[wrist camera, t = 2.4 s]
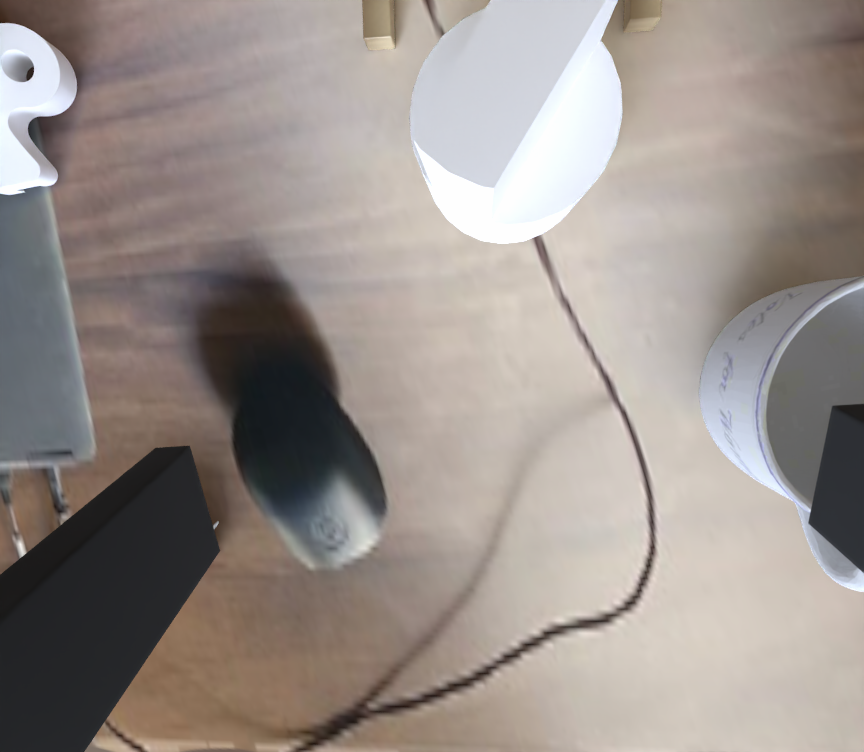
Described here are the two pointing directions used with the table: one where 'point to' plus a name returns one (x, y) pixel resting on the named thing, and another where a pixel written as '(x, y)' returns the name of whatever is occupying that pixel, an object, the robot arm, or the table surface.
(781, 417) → the teacup
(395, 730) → the table surface
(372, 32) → the bay
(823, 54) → the table surface
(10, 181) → the white curved piece
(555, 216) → the base with upright slab
